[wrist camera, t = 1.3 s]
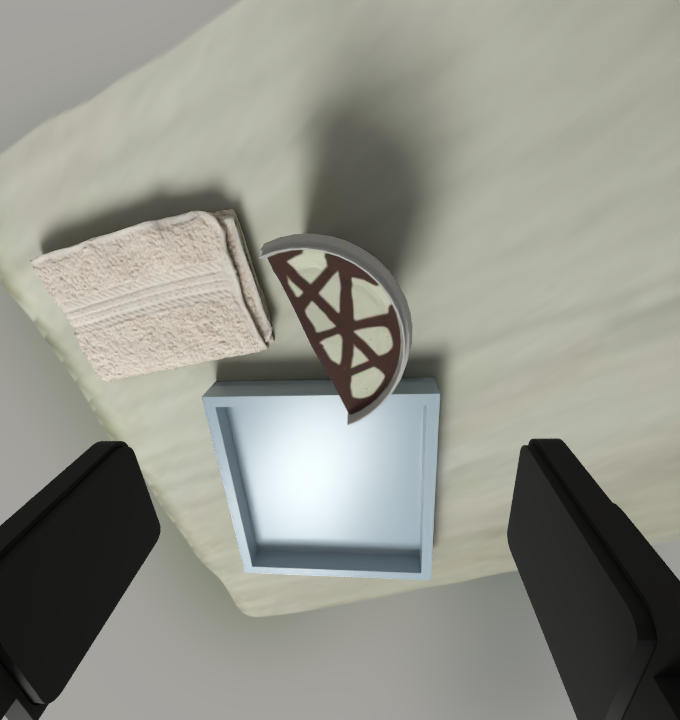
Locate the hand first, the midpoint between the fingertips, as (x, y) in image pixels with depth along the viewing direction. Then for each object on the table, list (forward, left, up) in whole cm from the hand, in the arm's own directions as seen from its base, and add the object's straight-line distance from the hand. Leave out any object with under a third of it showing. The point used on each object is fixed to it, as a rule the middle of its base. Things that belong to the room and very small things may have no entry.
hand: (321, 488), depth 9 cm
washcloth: (+17, 0, -23) cm, 28 cm away
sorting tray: (+4, +19, -22) cm, 30 cm away
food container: (0, 0, -23) cm, 23 cm away
